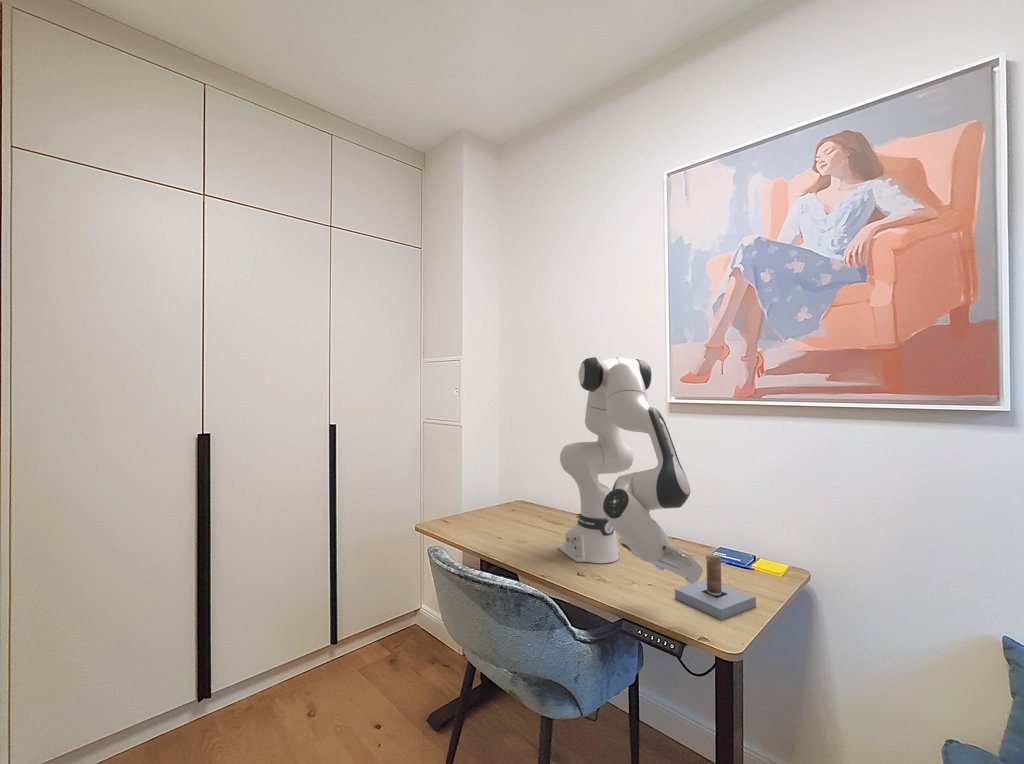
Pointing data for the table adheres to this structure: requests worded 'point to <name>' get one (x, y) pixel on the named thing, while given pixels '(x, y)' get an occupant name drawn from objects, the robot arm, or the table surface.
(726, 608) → the socket board
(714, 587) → the peg
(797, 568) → the table surface
